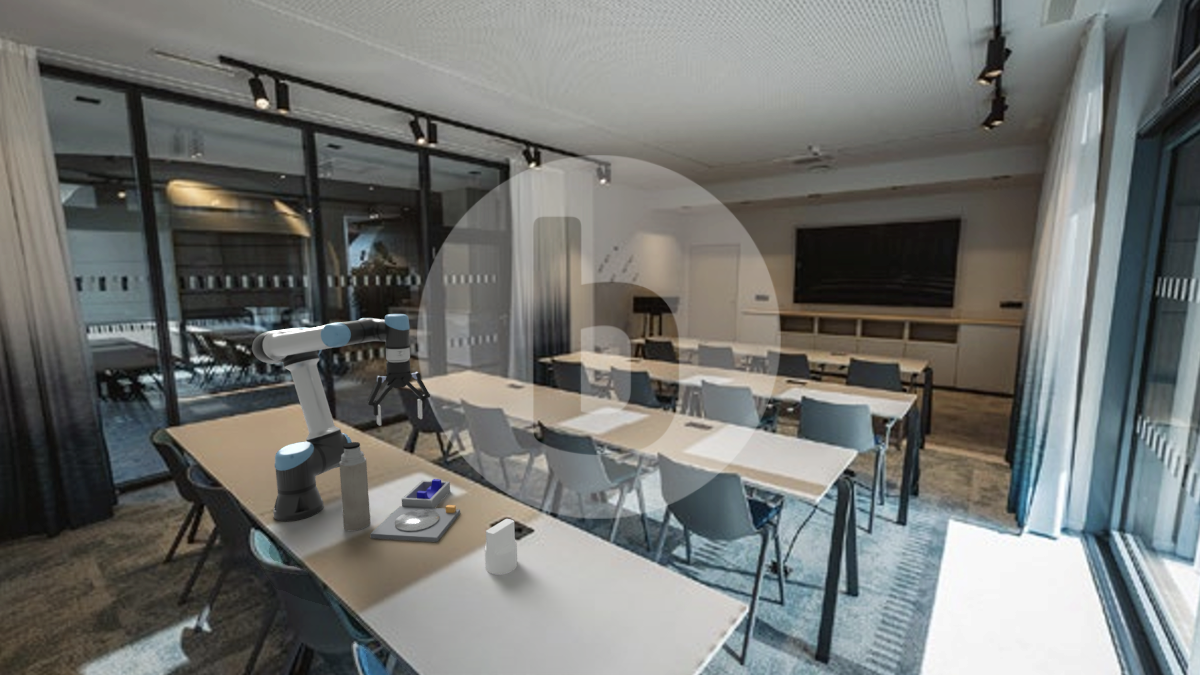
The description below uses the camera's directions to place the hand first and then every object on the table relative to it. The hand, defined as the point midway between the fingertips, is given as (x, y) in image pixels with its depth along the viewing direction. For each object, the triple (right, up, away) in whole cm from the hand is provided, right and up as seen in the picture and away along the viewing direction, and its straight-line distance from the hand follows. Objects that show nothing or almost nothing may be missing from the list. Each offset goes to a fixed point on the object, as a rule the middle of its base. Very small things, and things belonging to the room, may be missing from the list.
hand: (400, 421), depth 175 cm
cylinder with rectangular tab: (+40, -37, -28) cm, 61 cm away
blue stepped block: (+5, -32, +13) cm, 35 cm away
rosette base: (+8, -34, -5) cm, 35 cm away
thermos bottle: (-12, -34, -5) cm, 36 cm away
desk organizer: (+5, -31, +13) cm, 34 cm away
